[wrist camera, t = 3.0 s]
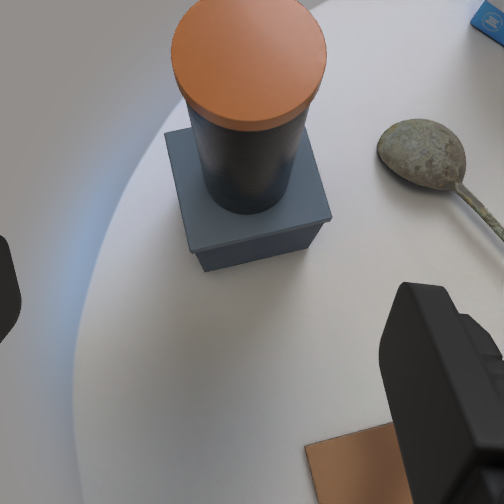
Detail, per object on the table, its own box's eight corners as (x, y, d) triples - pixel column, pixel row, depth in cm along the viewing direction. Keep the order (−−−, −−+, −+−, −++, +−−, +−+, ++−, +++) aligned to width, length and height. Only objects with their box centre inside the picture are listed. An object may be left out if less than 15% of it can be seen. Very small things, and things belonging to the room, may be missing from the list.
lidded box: (202, 275, 36) (189, 251, 27) (182, 183, 38) (163, 132, 29) (311, 249, 36) (332, 218, 28) (286, 160, 38) (298, 103, 29)
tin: (212, 227, 27) (188, 136, 16) (192, 143, 29) (157, 0, 17) (302, 206, 28) (345, 102, 16) (279, 124, 29) (303, -28, 17)
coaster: (333, 560, 31) (334, 563, 31) (304, 445, 33) (305, 447, 32) (436, 530, 32) (439, 532, 31) (402, 419, 34) (404, 420, 33)
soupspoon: (415, 112, 40) (360, 151, 40) (427, 90, 37) (368, 133, 36) (592, 299, 36) (534, 347, 35) (625, 294, 32) (561, 347, 32)
